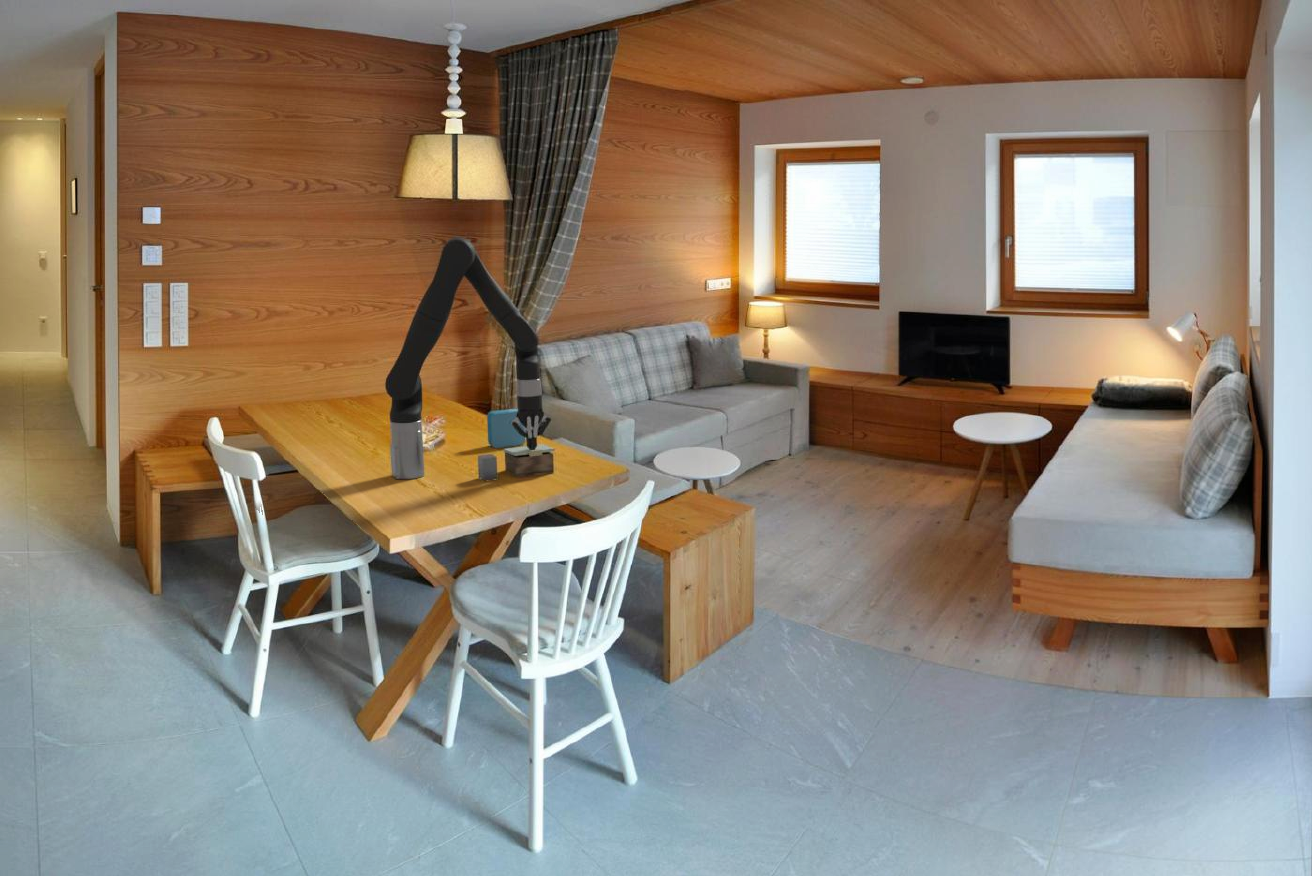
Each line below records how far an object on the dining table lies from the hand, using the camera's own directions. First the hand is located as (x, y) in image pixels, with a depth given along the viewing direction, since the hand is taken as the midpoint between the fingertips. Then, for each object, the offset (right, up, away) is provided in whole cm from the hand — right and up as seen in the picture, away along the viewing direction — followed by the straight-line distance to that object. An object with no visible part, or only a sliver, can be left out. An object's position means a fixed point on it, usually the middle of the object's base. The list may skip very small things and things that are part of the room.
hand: (532, 449), depth 320 cm
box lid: (-1, -1, +2) cm, 2 cm away
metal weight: (-13, -9, -5) cm, 16 cm away
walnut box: (-1, -7, +3) cm, 8 cm away
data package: (-13, +1, +38) cm, 40 cm away
